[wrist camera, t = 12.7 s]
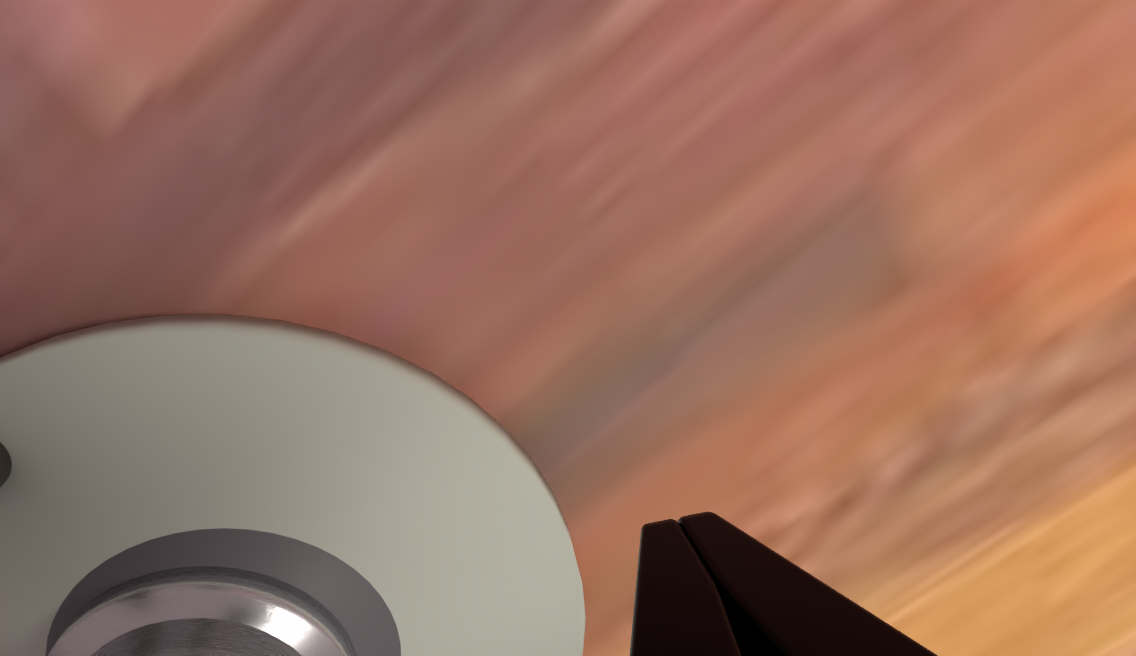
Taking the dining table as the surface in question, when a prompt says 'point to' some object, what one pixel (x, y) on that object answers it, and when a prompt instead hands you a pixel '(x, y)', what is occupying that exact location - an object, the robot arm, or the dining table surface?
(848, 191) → the dining table surface
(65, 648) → the cover cap
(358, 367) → the turntable
